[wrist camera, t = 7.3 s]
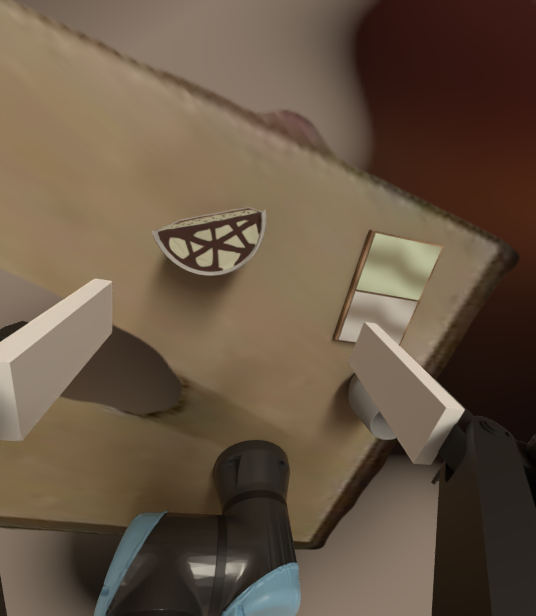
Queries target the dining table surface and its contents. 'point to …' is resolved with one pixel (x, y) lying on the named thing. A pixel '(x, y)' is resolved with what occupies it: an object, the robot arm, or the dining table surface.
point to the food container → (213, 241)
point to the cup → (368, 410)
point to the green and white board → (387, 285)
